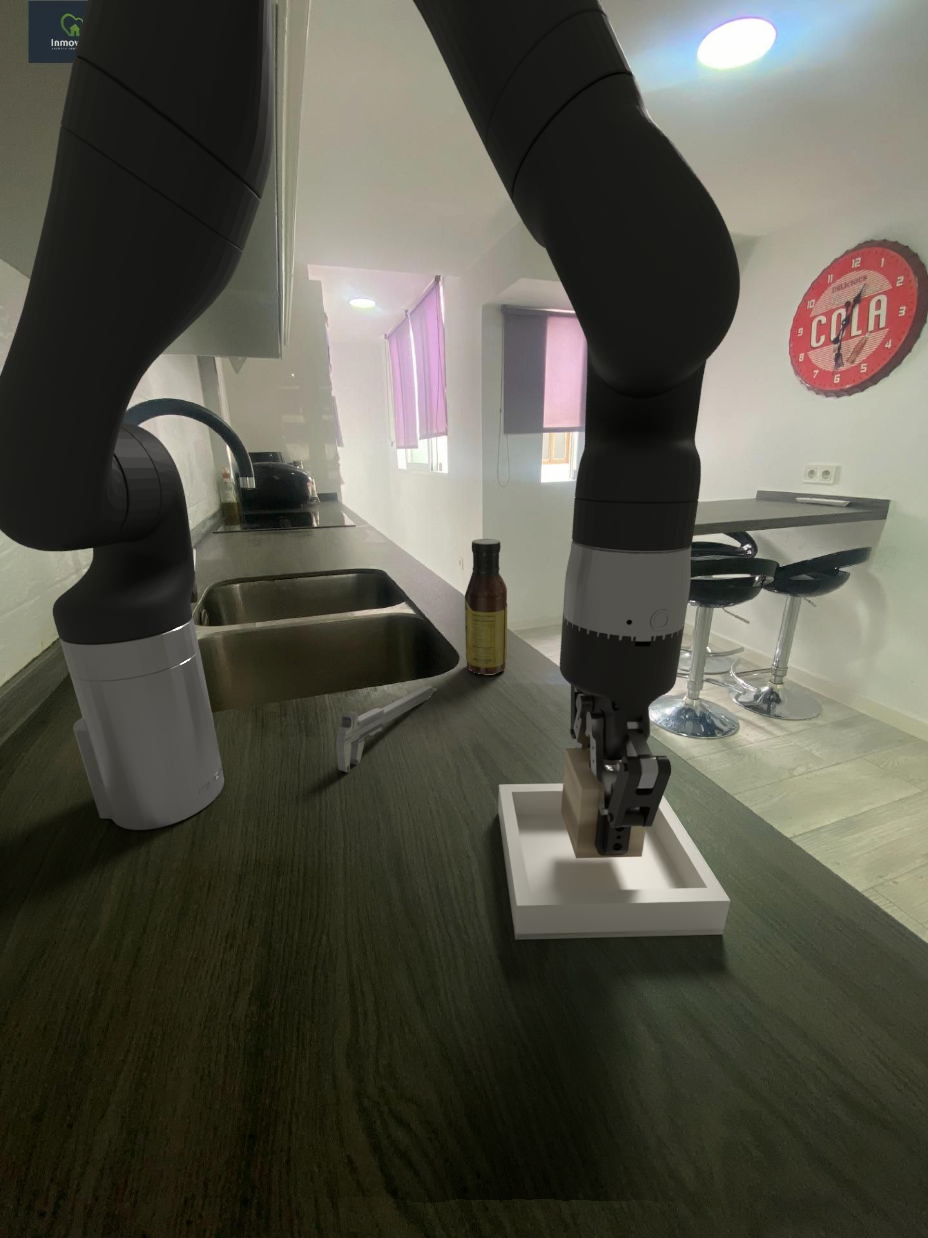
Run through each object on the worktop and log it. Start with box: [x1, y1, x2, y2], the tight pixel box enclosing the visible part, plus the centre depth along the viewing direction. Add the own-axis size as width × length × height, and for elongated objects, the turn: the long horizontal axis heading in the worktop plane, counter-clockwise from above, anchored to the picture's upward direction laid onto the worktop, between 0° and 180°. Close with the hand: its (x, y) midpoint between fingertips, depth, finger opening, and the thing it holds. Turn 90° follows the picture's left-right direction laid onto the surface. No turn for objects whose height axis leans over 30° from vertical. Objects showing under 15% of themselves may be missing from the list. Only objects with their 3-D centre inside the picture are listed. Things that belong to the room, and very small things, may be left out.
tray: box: [497, 782, 731, 941], centre depth 37 cm, size 14×12×3 cm
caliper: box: [335, 685, 437, 774], centre depth 56 cm, size 20×1×6 cm, turn 156°
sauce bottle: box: [464, 538, 508, 674], centre depth 69 cm, size 7×6×20 cm
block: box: [561, 747, 646, 858], centre depth 35 cm, size 5×5×6 cm
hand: (599, 823), depth 36 cm, fingers closed on block, 4 cm apart
